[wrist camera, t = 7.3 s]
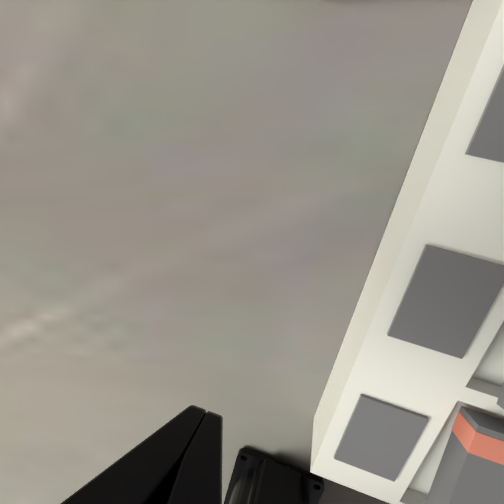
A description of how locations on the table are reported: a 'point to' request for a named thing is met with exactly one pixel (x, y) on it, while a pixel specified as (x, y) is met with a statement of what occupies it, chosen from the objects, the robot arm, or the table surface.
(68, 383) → the table surface
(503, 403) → the rocker
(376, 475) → the power strip
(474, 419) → the rocker
